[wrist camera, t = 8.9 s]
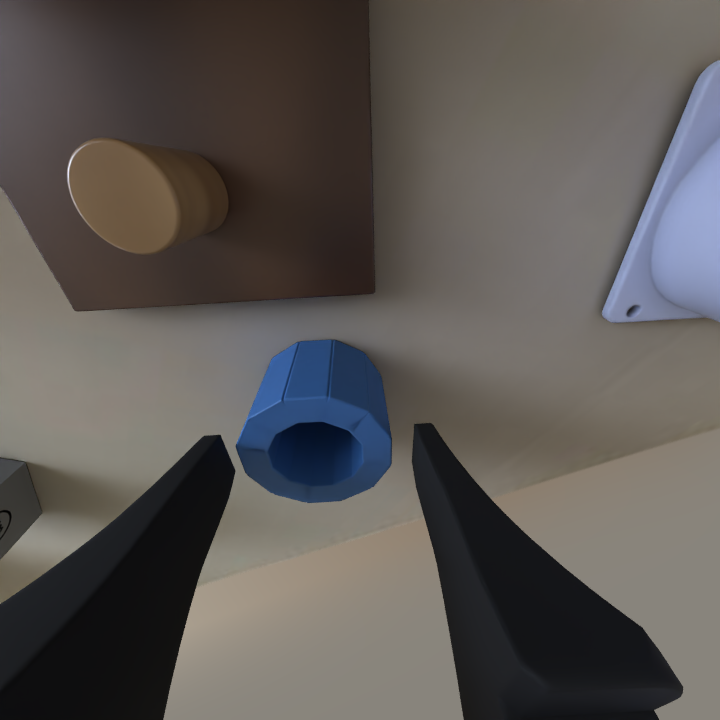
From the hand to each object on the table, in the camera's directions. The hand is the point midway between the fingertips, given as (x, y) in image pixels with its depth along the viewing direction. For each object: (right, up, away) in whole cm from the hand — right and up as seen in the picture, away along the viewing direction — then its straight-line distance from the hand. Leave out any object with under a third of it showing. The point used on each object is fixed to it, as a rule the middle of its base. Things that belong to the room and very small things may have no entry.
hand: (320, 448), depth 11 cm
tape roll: (0, +2, +3) cm, 4 cm away
